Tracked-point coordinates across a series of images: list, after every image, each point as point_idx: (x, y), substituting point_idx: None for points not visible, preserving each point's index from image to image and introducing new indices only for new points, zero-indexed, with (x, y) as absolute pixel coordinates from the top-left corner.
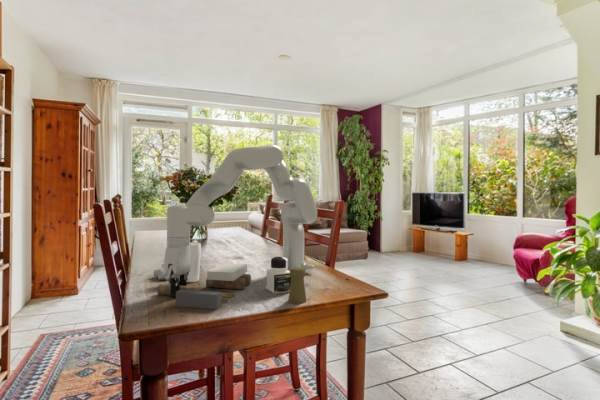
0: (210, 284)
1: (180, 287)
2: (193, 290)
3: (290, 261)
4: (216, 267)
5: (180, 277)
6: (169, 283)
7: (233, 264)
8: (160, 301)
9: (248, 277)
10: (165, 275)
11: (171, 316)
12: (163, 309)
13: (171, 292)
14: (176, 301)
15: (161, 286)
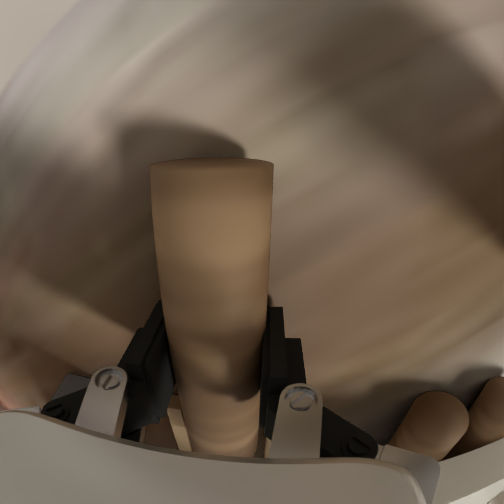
0: (399, 432)
1: (189, 398)
2: None
3: (499, 500)
4: (458, 501)
5: (292, 424)
6: (91, 377)
7: (492, 495)
8: (73, 268)
9: None
10: (12, 417)
11: (11, 380)
12: (20, 337)
13: (135, 333)
14: (59, 391)
15: (161, 211)
